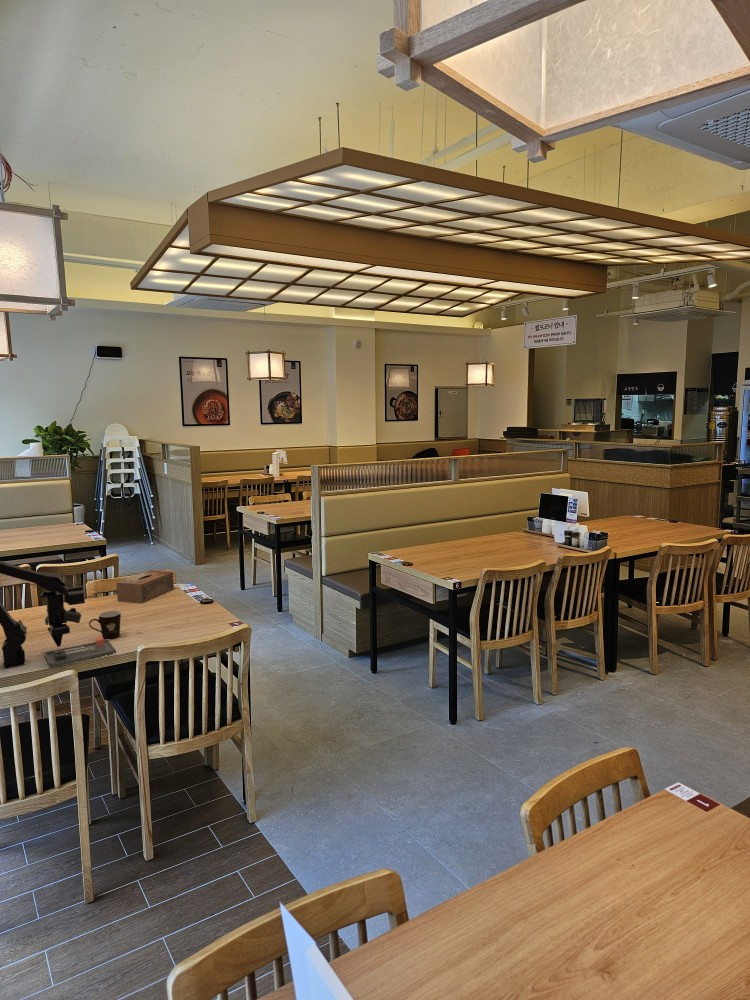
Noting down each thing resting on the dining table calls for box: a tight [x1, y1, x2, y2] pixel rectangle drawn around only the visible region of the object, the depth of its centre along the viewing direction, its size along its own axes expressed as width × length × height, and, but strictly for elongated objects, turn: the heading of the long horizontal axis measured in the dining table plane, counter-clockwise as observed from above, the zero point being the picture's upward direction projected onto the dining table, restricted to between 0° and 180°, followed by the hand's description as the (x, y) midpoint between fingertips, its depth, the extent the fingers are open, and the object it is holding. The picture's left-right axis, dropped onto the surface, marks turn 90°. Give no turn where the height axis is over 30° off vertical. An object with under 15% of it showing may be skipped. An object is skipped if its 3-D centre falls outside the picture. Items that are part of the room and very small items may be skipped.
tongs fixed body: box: [55, 645, 105, 661], centre depth 239 cm, size 18×4×2 cm, turn 125°
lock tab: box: [95, 636, 105, 647], centre depth 243 cm, size 2×4×2 cm, turn 35°
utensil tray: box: [43, 639, 117, 669], centre depth 241 cm, size 23×14×2 cm, turn 125°
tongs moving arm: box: [54, 646, 85, 659], centre depth 239 cm, size 11×2×2 cm, turn 122°
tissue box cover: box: [115, 569, 175, 605], centre depth 321 cm, size 26×14×10 cm, turn 162°
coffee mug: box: [88, 610, 122, 640], centre depth 260 cm, size 12×9×10 cm
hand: (58, 646), depth 239 cm, fingers closed
